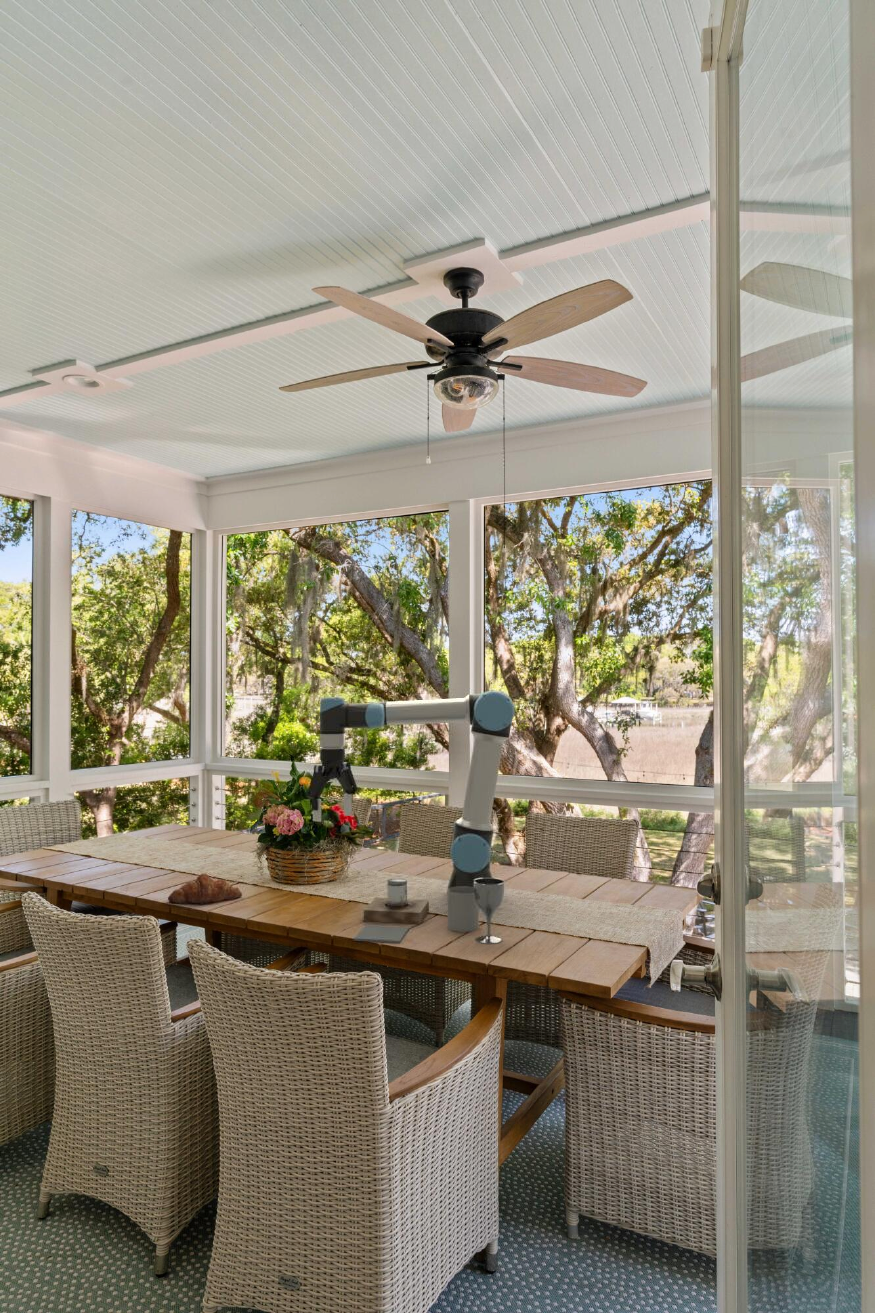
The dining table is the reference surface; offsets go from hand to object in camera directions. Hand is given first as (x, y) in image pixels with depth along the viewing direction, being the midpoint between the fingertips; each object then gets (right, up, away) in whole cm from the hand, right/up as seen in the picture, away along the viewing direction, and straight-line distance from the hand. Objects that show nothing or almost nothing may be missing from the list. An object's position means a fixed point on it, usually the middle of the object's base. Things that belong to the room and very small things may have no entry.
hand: (332, 818), depth 251 cm
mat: (+17, -24, -34) cm, 45 cm away
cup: (+39, -25, -26) cm, 53 cm away
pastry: (-39, -26, +2) cm, 47 cm away
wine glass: (+45, -24, -37) cm, 63 cm away
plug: (+20, -25, -15) cm, 35 cm away
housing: (+20, -25, -15) cm, 35 cm away
